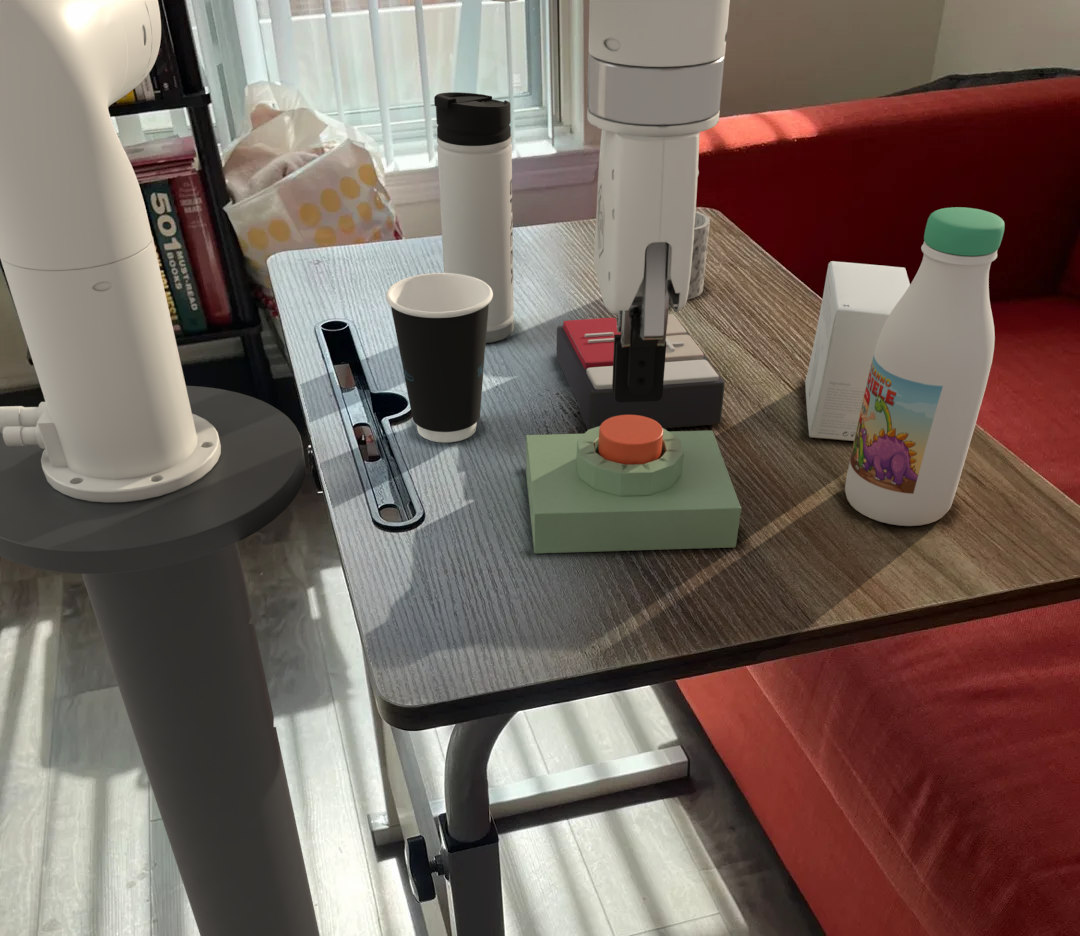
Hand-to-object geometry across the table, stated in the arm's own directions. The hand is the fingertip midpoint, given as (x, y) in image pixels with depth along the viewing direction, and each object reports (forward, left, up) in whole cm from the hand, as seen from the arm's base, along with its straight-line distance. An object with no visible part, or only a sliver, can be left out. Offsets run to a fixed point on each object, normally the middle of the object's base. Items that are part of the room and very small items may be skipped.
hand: (636, 395), depth 75 cm
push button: (0, 0, -4) cm, 4 cm away
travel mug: (-10, +32, -9) cm, 35 cm away
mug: (+9, +40, -9) cm, 42 cm away
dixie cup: (-13, +13, -9) cm, 21 cm away
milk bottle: (+20, 0, -9) cm, 22 cm away
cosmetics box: (+20, +14, -9) cm, 26 cm away
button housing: (0, 0, -9) cm, 9 cm away
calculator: (+3, +19, -9) cm, 21 cm away
